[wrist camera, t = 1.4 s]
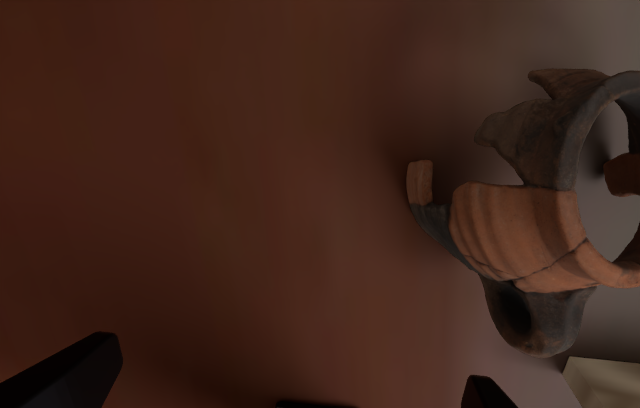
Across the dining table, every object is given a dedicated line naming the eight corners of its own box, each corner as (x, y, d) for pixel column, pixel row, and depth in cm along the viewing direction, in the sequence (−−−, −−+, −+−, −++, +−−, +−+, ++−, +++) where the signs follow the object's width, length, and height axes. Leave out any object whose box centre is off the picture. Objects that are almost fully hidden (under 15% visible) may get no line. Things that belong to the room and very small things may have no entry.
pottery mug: (381, 107, 18) (521, 51, 10) (528, 91, 20) (730, 36, 12) (409, 334, 19) (552, 444, 11) (543, 290, 22) (732, 354, 14)
